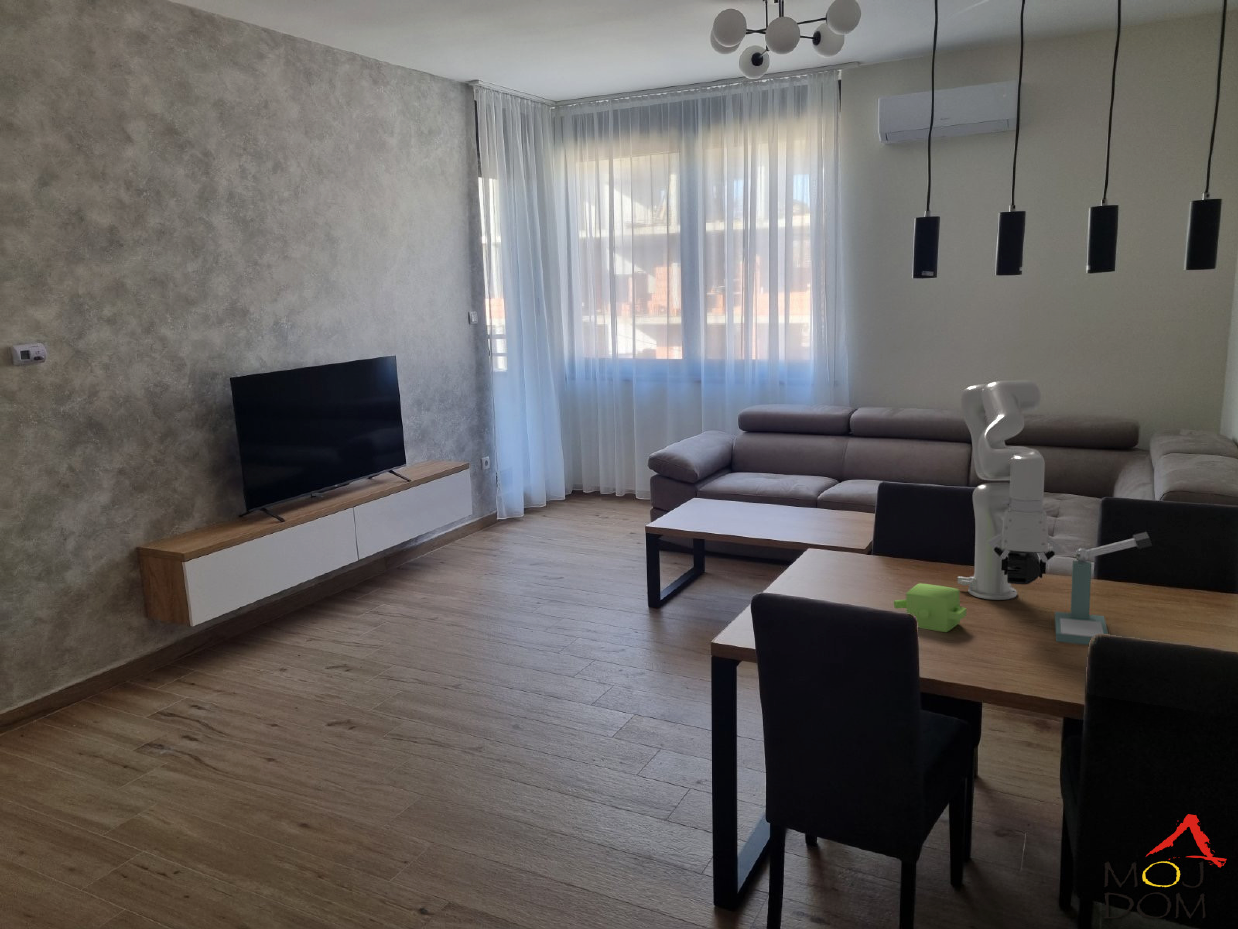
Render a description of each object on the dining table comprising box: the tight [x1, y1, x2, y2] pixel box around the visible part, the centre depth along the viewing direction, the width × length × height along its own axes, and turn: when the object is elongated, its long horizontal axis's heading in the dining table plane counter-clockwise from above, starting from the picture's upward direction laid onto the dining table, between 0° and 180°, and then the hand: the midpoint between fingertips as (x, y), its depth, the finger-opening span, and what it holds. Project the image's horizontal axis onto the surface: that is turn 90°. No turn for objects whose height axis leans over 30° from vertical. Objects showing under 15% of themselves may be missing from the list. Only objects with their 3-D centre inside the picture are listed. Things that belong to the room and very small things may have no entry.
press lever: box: [1074, 531, 1153, 562], centre depth 215 cm, size 16×6×3 cm, turn 65°
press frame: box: [1054, 560, 1109, 646], centre depth 215 cm, size 11×17×16 cm, turn 155°
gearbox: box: [893, 582, 967, 633], centre depth 225 cm, size 18×10×10 cm, turn 49°
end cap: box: [1007, 551, 1040, 586], centre depth 217 cm, size 10×7×7 cm
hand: (1023, 574), depth 217 cm, fingers closed on end cap, 7 cm apart
